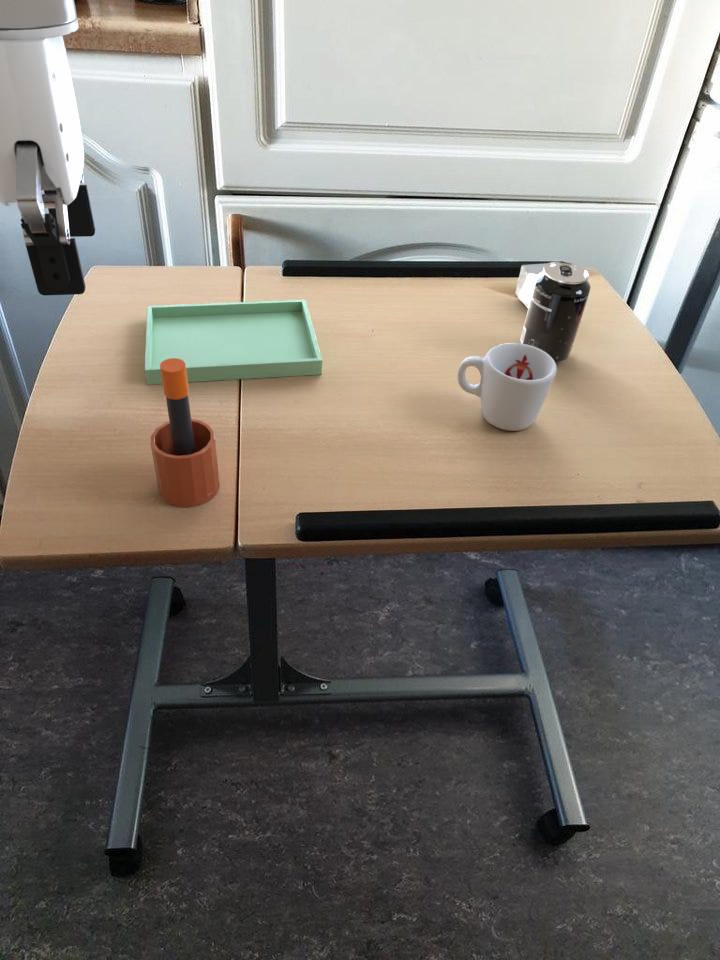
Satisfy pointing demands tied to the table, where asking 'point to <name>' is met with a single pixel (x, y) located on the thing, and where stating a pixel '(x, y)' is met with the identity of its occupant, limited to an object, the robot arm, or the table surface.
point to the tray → (232, 340)
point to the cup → (510, 383)
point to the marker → (178, 405)
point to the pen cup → (186, 466)
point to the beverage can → (556, 309)
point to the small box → (527, 281)
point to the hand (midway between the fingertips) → (69, 262)
